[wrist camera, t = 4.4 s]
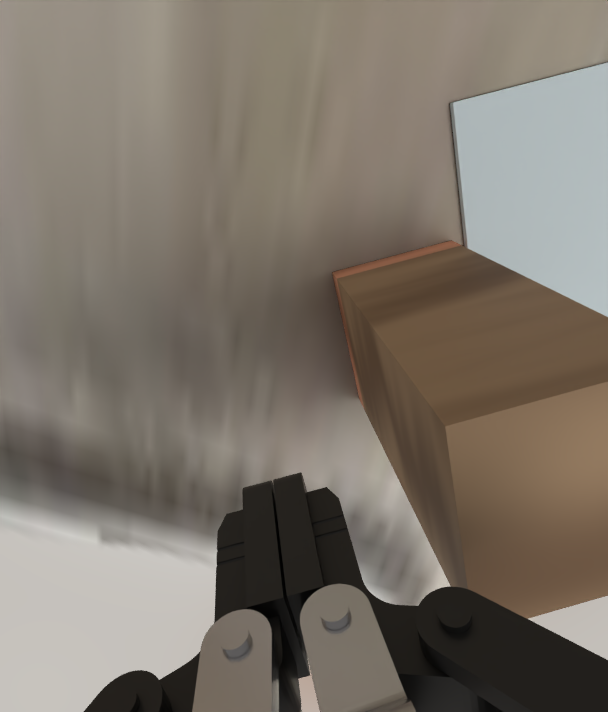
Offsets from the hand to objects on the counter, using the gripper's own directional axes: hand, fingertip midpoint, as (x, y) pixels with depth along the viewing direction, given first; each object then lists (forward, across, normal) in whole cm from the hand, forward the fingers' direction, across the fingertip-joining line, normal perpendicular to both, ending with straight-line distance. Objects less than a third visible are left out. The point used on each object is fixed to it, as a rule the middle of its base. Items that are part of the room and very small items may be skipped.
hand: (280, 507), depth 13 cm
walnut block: (+10, -6, 0) cm, 12 cm away
